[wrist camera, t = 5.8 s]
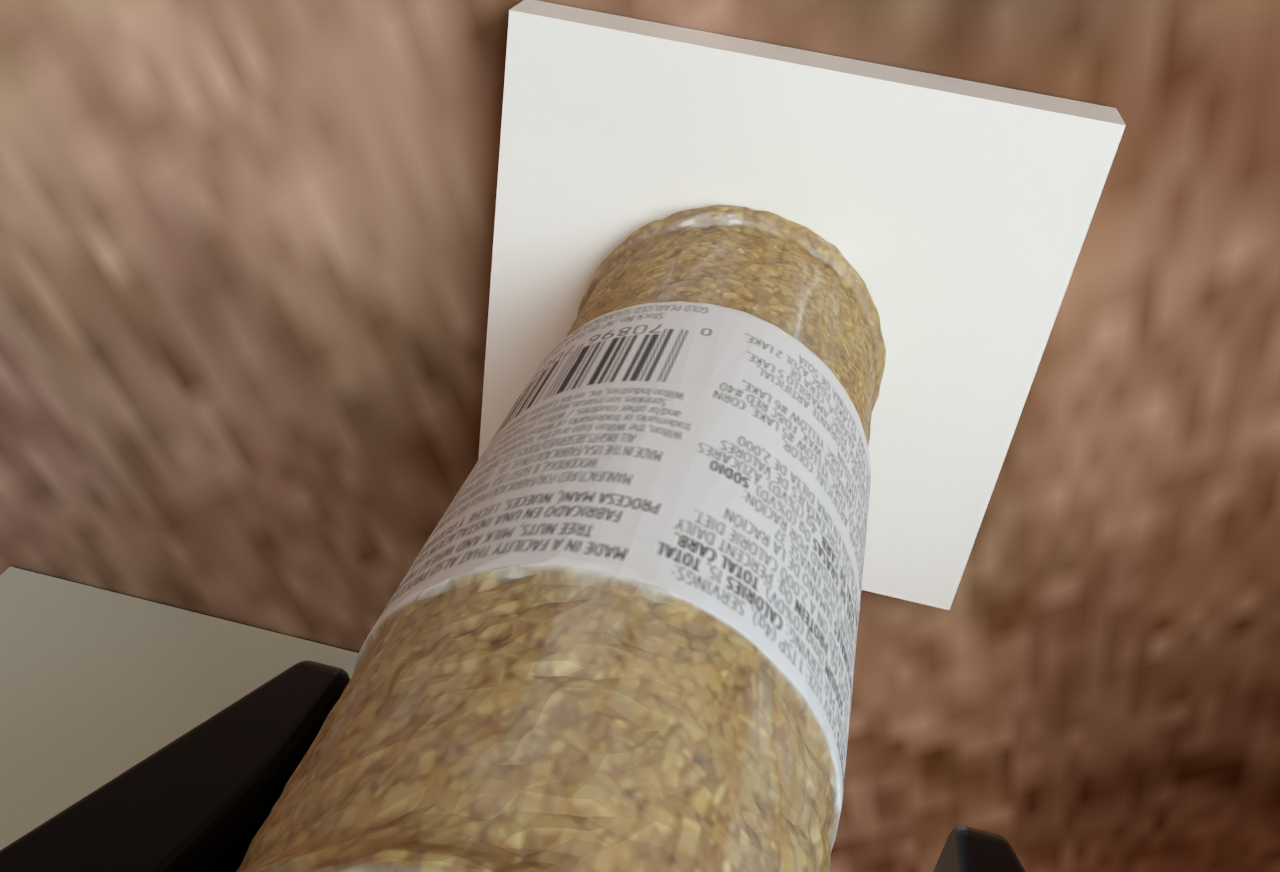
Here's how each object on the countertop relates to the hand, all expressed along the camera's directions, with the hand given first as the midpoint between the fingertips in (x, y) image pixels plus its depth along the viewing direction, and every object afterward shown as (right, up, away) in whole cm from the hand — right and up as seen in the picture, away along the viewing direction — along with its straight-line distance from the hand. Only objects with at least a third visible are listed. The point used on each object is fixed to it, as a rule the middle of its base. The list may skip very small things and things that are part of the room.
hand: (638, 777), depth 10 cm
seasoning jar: (+1, +4, +7) cm, 9 cm away
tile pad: (+2, +5, +8) cm, 9 cm away
